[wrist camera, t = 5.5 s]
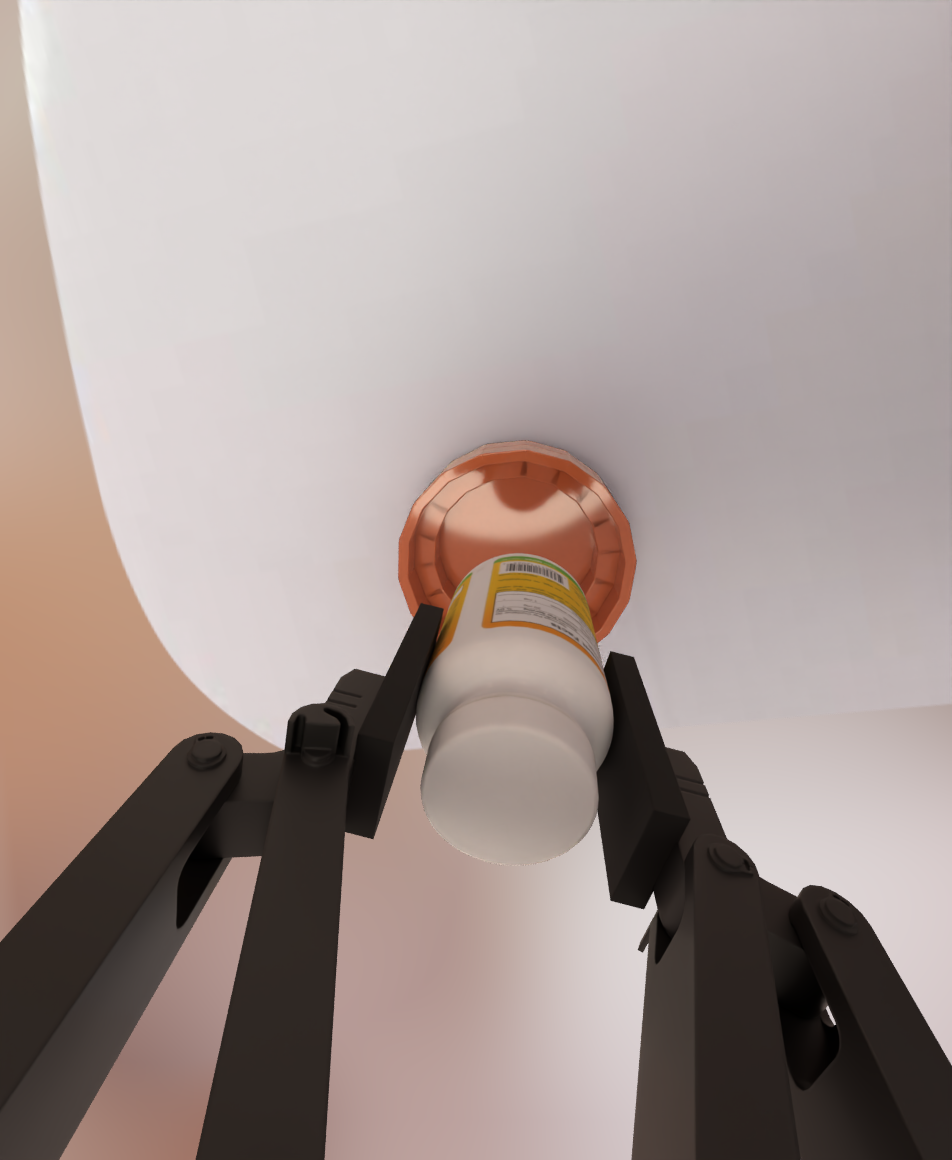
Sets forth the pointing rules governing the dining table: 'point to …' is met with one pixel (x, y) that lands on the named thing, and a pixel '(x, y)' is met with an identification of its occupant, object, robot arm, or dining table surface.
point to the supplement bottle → (514, 714)
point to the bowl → (518, 526)
